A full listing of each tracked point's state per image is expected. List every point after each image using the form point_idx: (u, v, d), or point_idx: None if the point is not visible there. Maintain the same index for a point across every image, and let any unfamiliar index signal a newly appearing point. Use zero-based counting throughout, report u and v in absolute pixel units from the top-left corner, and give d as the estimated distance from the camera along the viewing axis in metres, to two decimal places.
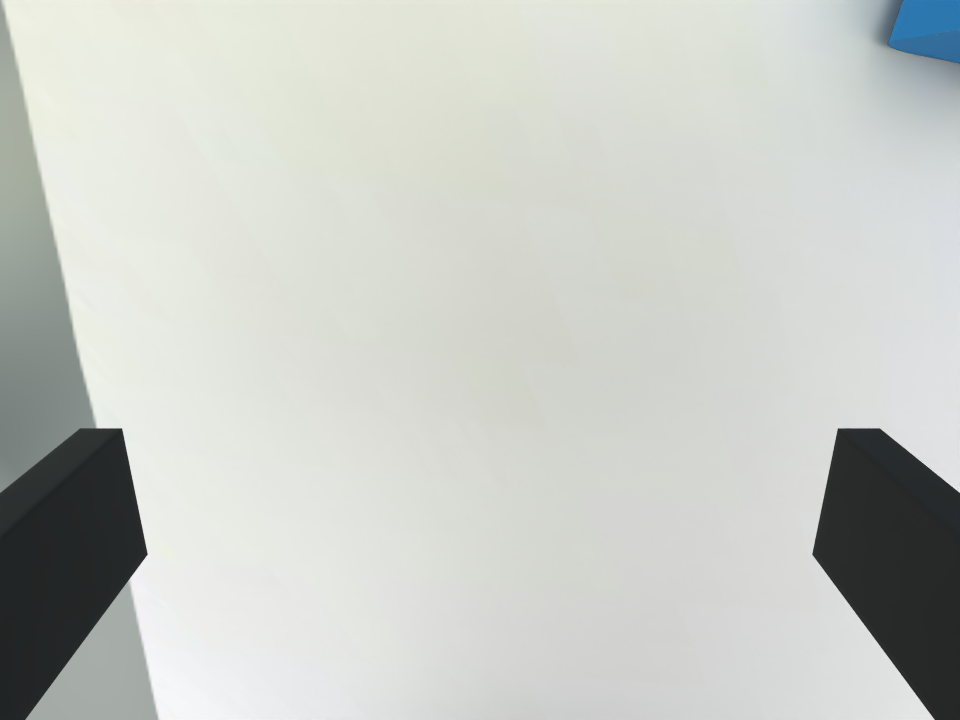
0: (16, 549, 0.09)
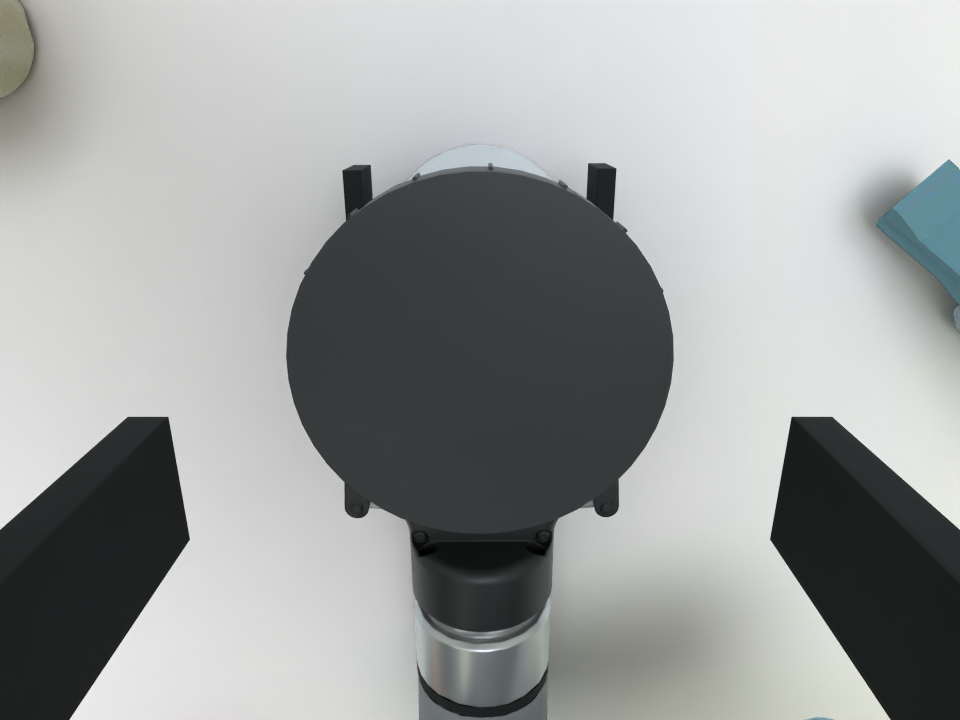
0: (80, 529, 0.10)
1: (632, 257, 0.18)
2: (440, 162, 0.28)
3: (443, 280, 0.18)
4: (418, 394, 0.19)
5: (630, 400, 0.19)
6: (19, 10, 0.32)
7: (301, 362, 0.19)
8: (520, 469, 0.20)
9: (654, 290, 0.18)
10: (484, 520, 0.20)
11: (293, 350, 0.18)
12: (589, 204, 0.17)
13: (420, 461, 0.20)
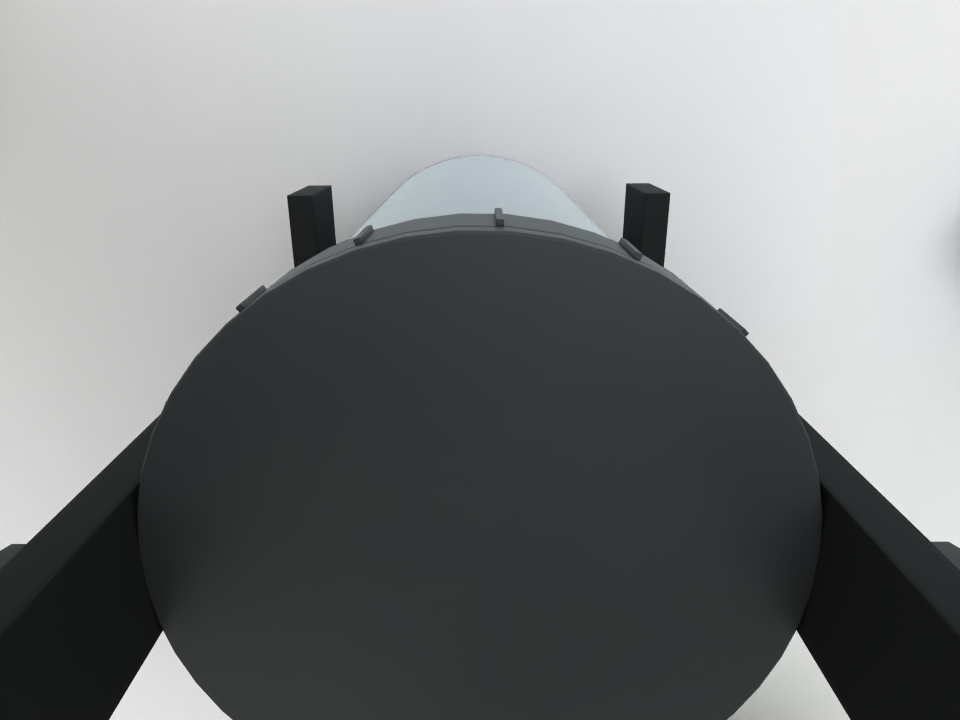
0: (131, 514, 0.10)
1: (760, 385, 0.10)
2: (423, 185, 0.20)
3: (413, 424, 0.10)
4: (373, 606, 0.11)
5: (740, 616, 0.11)
6: None
7: (165, 557, 0.11)
8: (548, 718, 0.12)
9: (796, 440, 0.10)
10: None
11: (150, 538, 0.10)
12: (685, 291, 0.09)
13: (379, 707, 0.12)
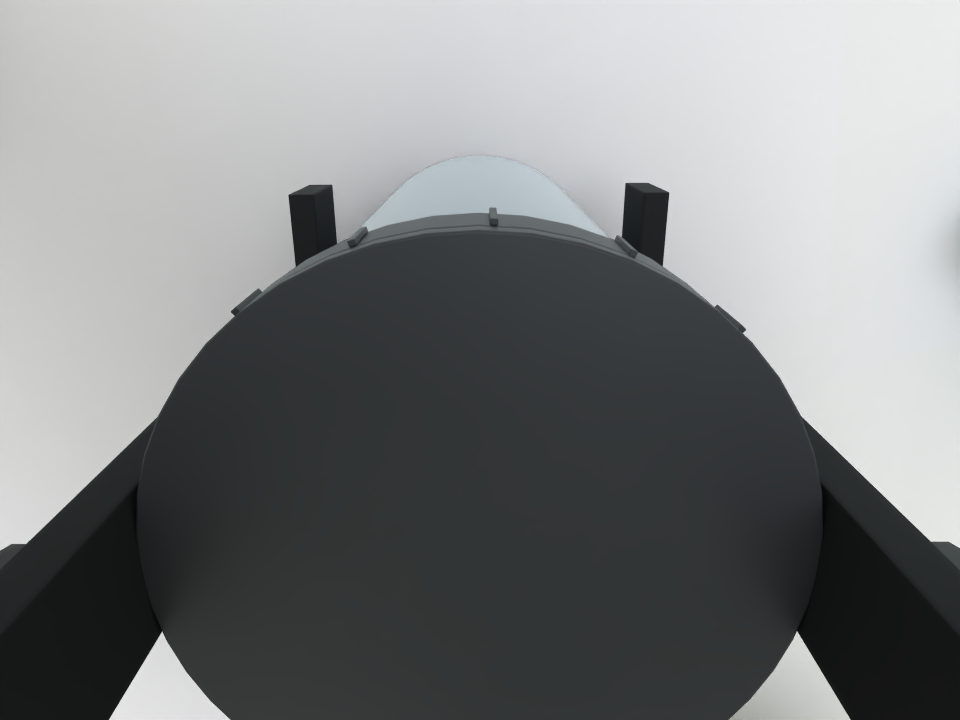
0: (131, 514, 0.10)
1: (392, 260, 0.09)
2: (424, 184, 0.20)
3: (305, 559, 0.11)
4: (473, 663, 0.11)
5: (668, 367, 0.09)
6: None
7: None
8: (689, 585, 0.11)
9: (475, 244, 0.09)
10: (744, 668, 0.11)
11: None
12: (265, 295, 0.09)
13: (585, 705, 0.12)
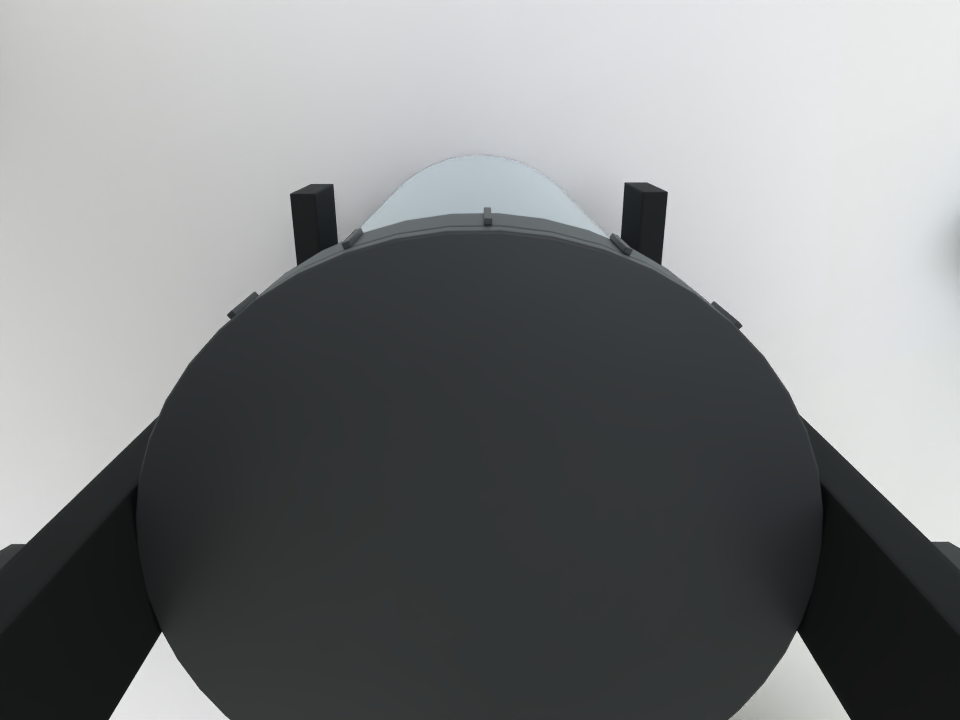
0: (131, 514, 0.10)
1: (151, 510, 0.10)
2: (424, 183, 0.20)
3: (397, 686, 0.11)
4: (579, 616, 0.11)
5: (337, 338, 0.09)
6: None
7: None
8: (596, 403, 0.10)
9: (159, 446, 0.10)
10: (741, 385, 0.10)
11: None
12: (151, 605, 0.11)
13: (692, 547, 0.10)
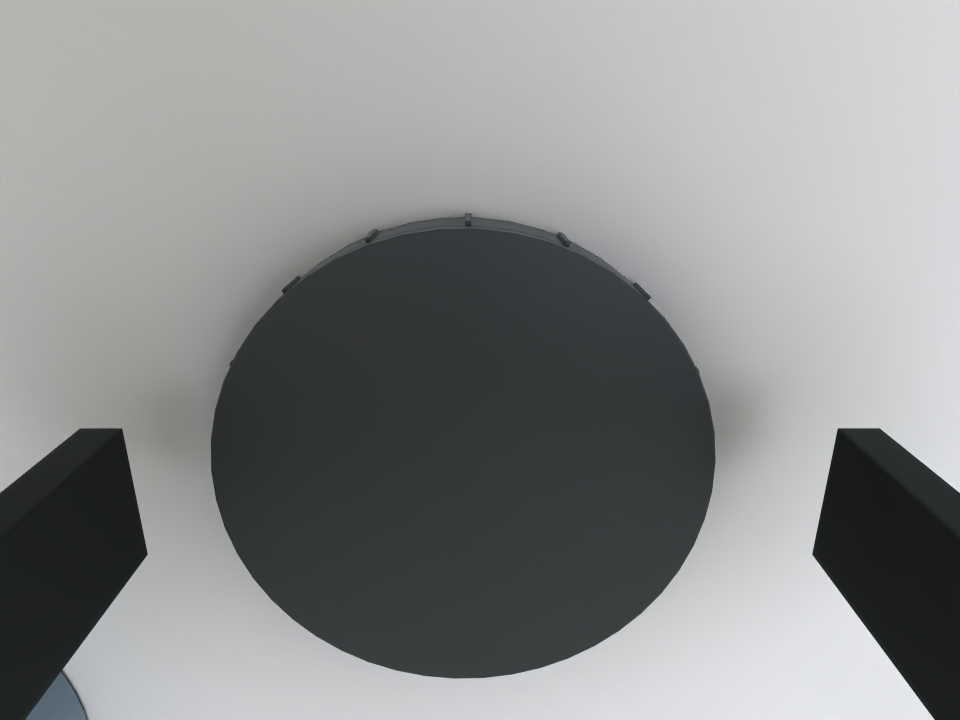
0: (16, 549, 0.09)
1: (223, 435, 0.14)
2: None
3: (402, 574, 0.15)
4: (539, 517, 0.15)
5: (361, 305, 0.13)
6: None
7: (590, 631, 0.16)
8: (547, 352, 0.13)
9: (231, 386, 0.14)
10: (649, 339, 0.13)
11: (582, 644, 0.16)
12: (220, 509, 0.15)
13: (620, 462, 0.14)
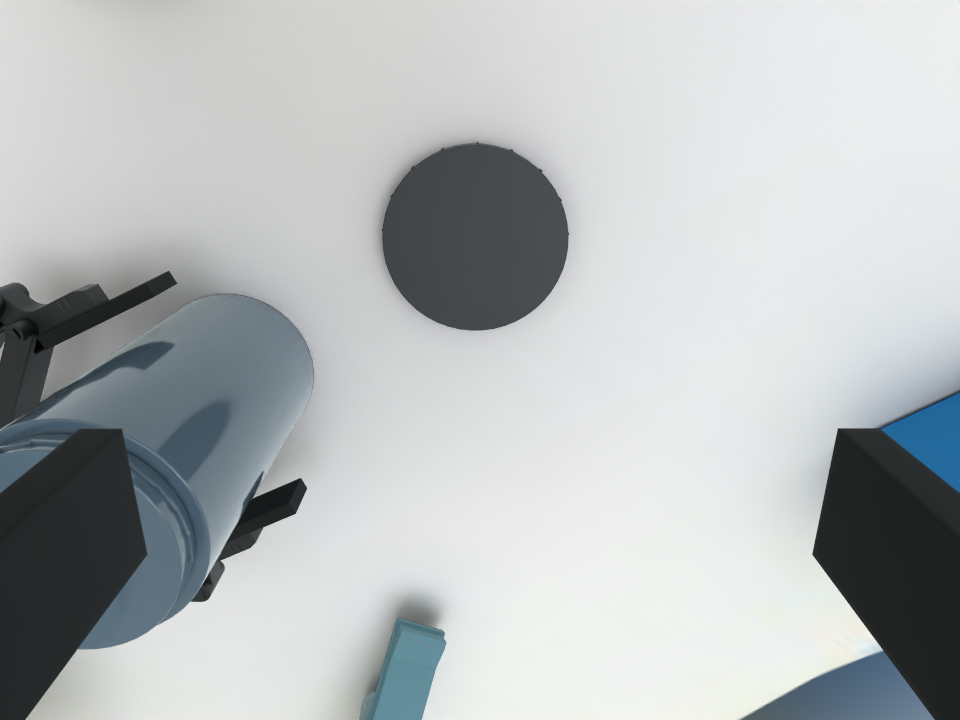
0: (16, 549, 0.09)
1: (388, 222, 0.38)
2: (242, 364, 0.34)
3: (451, 282, 0.40)
4: (503, 257, 0.39)
5: (440, 172, 0.37)
6: None
7: (524, 308, 0.40)
8: (505, 190, 0.38)
9: (392, 203, 0.38)
10: (541, 185, 0.38)
11: (521, 314, 0.40)
12: (384, 253, 0.39)
13: (533, 234, 0.39)
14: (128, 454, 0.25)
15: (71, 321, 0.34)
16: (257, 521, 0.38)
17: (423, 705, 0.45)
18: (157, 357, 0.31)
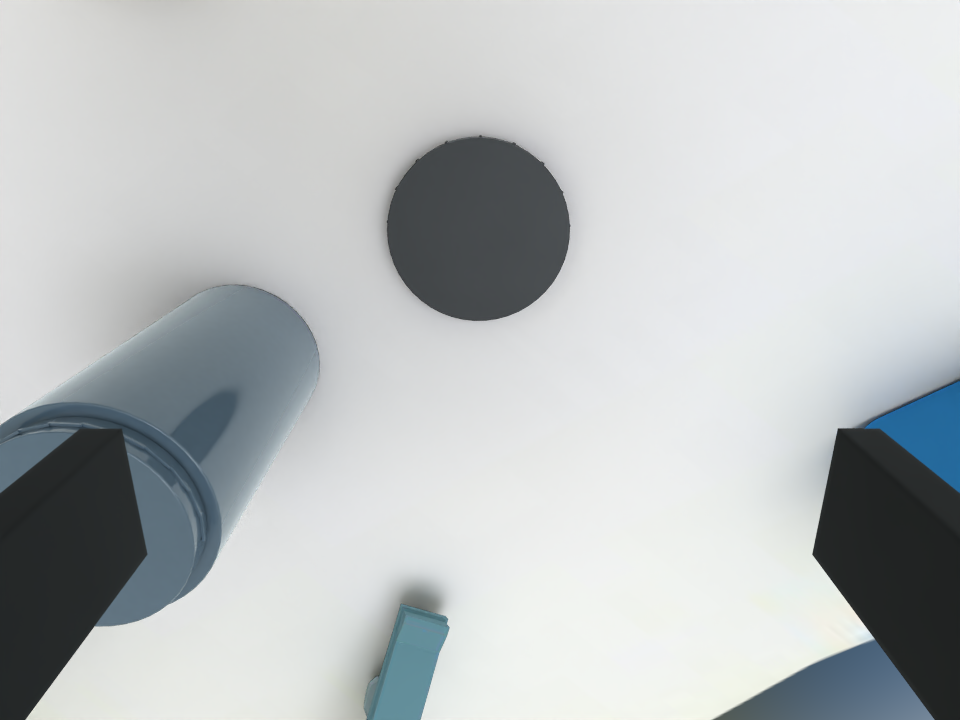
0: (16, 549, 0.09)
1: (393, 214, 0.39)
2: (251, 353, 0.35)
3: (455, 273, 0.40)
4: (506, 248, 0.40)
5: (443, 165, 0.38)
6: None
7: (526, 299, 0.41)
8: (507, 183, 0.39)
9: (397, 195, 0.39)
10: (543, 178, 0.38)
11: (523, 305, 0.41)
12: (389, 245, 0.40)
13: (535, 226, 0.39)
14: (142, 437, 0.26)
15: None
16: None
17: (426, 689, 0.46)
18: (168, 345, 0.32)
